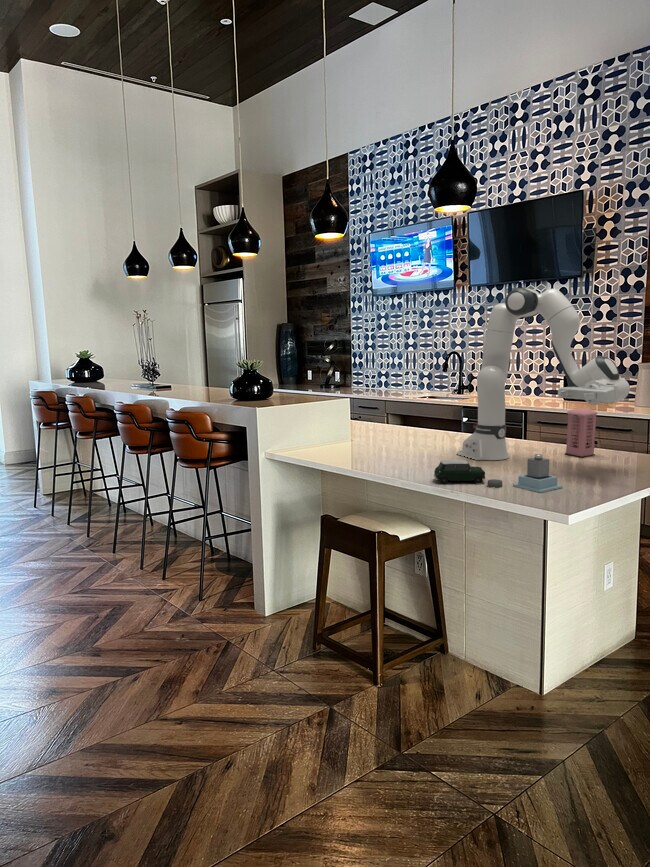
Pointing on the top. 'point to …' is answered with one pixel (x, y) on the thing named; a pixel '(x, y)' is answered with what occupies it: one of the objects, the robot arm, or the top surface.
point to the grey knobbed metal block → (538, 467)
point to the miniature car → (458, 471)
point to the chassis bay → (537, 483)
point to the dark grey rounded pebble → (495, 483)
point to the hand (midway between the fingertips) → (571, 395)
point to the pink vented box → (581, 432)
